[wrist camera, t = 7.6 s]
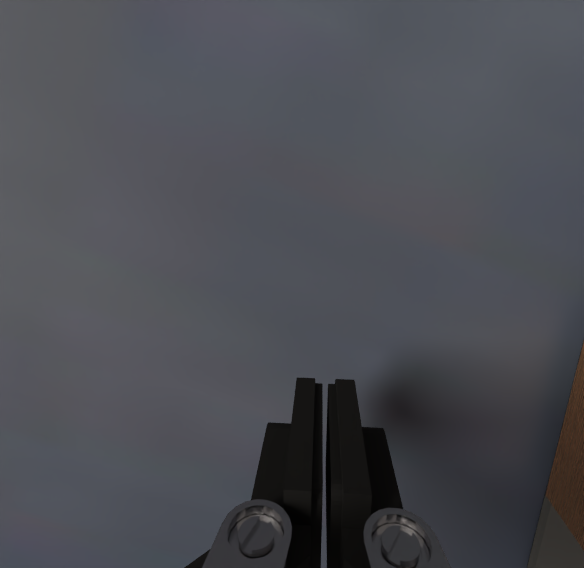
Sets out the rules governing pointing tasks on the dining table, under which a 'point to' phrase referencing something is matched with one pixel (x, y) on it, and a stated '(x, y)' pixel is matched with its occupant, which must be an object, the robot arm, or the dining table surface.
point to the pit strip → (554, 540)
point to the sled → (571, 461)
